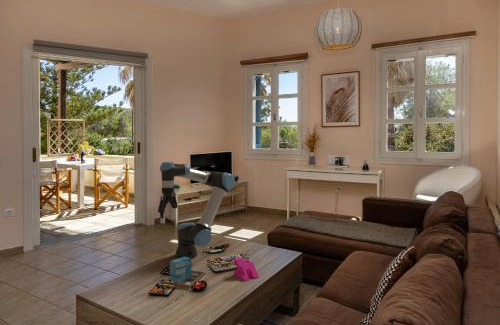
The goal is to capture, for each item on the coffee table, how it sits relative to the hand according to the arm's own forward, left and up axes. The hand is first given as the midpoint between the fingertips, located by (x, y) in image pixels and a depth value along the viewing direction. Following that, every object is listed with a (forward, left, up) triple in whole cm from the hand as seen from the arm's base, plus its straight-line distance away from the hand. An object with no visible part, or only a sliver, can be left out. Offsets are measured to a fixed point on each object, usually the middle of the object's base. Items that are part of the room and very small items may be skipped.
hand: (168, 220), depth 237 cm
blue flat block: (+18, +18, -29) cm, 38 cm away
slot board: (+13, +18, -32) cm, 39 cm away
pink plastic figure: (-6, +50, -32) cm, 59 cm away
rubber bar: (+8, +18, -31) cm, 37 cm away
